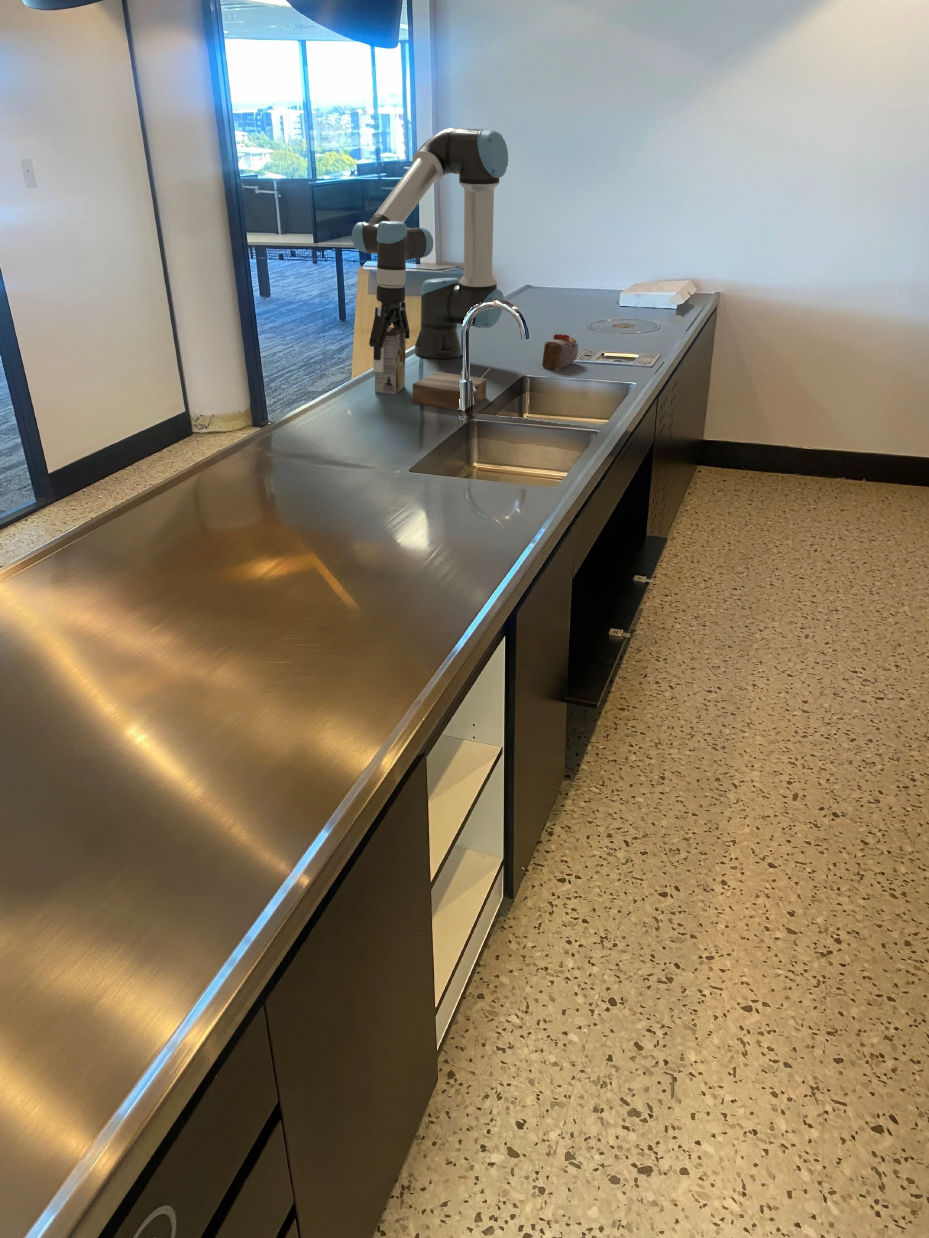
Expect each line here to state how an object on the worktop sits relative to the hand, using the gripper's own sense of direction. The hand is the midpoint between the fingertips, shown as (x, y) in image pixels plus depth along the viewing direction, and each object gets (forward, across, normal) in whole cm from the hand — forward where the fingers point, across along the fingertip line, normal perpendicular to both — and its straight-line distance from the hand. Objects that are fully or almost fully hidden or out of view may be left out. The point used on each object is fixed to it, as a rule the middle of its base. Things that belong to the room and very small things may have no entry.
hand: (389, 367), depth 243 cm
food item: (+6, -56, +33) cm, 65 cm away
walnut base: (+6, +1, +19) cm, 20 cm away
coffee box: (+6, 0, 0) cm, 6 cm away
